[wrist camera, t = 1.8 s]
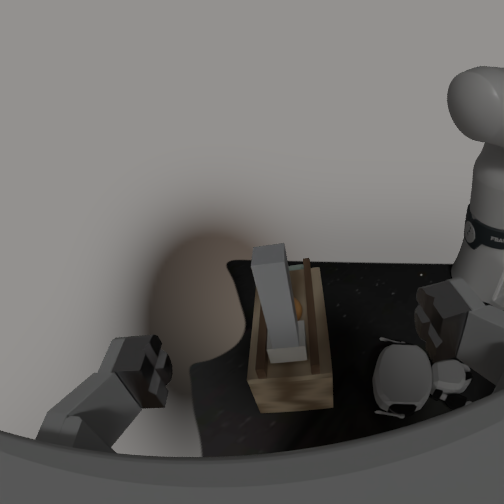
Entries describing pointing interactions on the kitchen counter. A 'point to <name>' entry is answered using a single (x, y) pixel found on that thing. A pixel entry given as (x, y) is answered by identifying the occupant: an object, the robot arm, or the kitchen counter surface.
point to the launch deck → (298, 372)
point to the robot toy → (416, 380)
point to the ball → (298, 309)
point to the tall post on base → (278, 305)
